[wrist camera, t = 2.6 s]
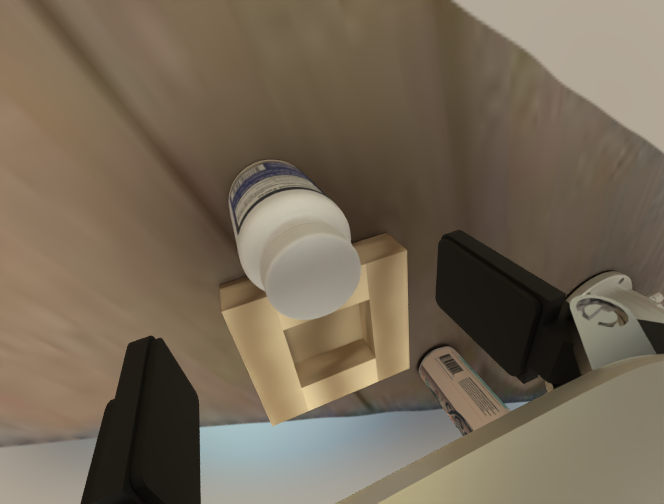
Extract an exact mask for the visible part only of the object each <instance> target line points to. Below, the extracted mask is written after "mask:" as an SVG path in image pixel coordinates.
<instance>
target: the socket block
mask: <svg viewBox="0 0 664 504" xmlns="http://www.w3.org/2000/svg"><path fill="white" fill-rule="evenodd" d="M352 246H353V247H354V248H355V250H356V251H357V253H358V256H359V258H360V263H361V276H360V280H359V283H358V286H357V288H356V290H355V291H354V293H353V295H352V296H351V297H350V298H349V300H348V301H347V302H346V303H345V304H344V305H342V306H341V307H340V308H339V309H337V310H336V311H334V312H332V313H330V314H328V315H326V316H323V317H320V318H316V319H310V320H298V319H292V318H289V317H287V316H284V315H283V314H281V313H279V312H278V311H277V310H276V309H275V308H274V307H273V306H272V305H271V303H270V302H269V300H268V298H267V295H266V292H265V291H263V290H262V289H260V288H259V287H257V286H256V285H255V284H254V283H253V282H252V281H251V280H250V279H249V278H248V277H244V278H241V279H237V280H234V281H231V282H228V283H225V284H222V285H219V287H220V300H221V312H222V314H223V317H224V319H225V321H226V323H227V326H228V328H229V330H230V332H231V334H232V337H233V339H234V341H235V343H236V346H237V348H238V350H239V352H240V355H241V357H242V359H243V361H244V364H245V366H246V368H247V370H248V373H249V375H250V377H251V379H252V382H253V384H254V386H255V388H256V390H257V393H258V395H259V397H260V399H261V402H262V404H263V406H264V408H265V411H266V413H267V415H268V417H269V420H270V422H271V424H272V426H274V425H277V424H279V423H281V422H284V421H286V420H288V419H291V418H293V417H295V416H298V415H300V414H303V413H305V412H307V411H310V410H312V409H314V408H317V407H319V406H321V405H324V404H326V403H329V402H331V401H333V400H336V399H338V398H340V397H343V396H345V395H347V394H350V393H352V392H354V391H357V390H359V389H362V388H364V387H366V386H369V385H371V384H373V383H376V382H378V381H380V380H383V379H385V378H388V377H390V376H392V375H395V374H397V373H399V372H402V371H404V370H406V369H409V328H408V278H407V250H406V249H405V248H404V247H403V246H402V245H400V244H399V243H398V242H397V241H396V240H395V239H393V238H392V237H391V236H390V235H389V234H388V233H384V234H381V235H378V236H374V237H371V238H368V239H365V240H362V241H358V242H355V243H352Z"/></svg>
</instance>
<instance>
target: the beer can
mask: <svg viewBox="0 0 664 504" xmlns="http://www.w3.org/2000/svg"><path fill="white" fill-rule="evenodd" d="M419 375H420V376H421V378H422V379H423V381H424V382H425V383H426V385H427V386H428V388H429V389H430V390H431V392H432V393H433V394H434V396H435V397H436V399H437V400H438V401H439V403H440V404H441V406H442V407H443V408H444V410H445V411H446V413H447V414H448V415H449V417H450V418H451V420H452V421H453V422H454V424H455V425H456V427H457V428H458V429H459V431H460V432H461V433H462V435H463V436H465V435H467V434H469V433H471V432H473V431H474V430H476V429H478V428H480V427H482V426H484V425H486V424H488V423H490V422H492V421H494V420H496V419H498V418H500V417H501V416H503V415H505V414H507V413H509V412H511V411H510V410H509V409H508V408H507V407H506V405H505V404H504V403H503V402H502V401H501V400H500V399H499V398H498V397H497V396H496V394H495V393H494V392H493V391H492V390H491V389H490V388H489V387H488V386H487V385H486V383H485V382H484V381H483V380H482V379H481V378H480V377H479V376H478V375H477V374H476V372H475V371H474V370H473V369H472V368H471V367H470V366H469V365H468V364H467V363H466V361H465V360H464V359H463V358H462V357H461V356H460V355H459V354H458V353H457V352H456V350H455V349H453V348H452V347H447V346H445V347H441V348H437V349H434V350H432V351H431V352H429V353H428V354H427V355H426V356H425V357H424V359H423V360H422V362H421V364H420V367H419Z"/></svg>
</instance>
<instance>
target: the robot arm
mask: <svg viewBox="0 0 664 504" xmlns="http://www.w3.org/2000/svg"><path fill="white" fill-rule="evenodd" d="M565 296H566V294H565V293H563V292H562V291H560V290H558V289H557V288H555V287H553V286H552V285H550V284H548V283H547V282H545V281H543V280H542V279H540V278H538V277H537V276H535V275H534V274H532V273H530V272H529V271H527V270H525V269H524V268H522V267H520V266H519V265H517V264H515V263H514V262H512V261H510V260H509V259H507V258H506V257H504V256H502V255H501V254H499V253H497V252H496V251H494V250H492V249H491V248H489V247H487V246H486V245H484V244H482V243H481V242H479V241H478V240H476V239H474V238H473V237H471V236H469V235H468V234H466V233H464V232H463V231H461V230H456V231H454V232H451V233H448V234H445V235H443V236H442V238H441V240H440V241H439V244H438V261H437V280H436V301H437V304H438V305H439V307H440V308H441V309H442V310H443V311H444V312H445V313H447V314H448V315H449V316H450V317H451V318H452V319H453V320H454V321H455V322H456V323H457V324H458V325H459V326H460V327H461V328H462V329H463V330H464V331H465V332H466V333H467V334H468V335H469V336H470V337H471V338H472V339H473V340H474V341H475V342H476V343H477V344H478V345H479V346H480V347H482V348H483V349H484V350H485V351H486V352H487V353H488V354H489V355H490V356H491V357H492V358H493V359H494V360H495V361H496V362H497V363H498V364H499V365H500V366H501V367H502V368H503V369H504V370H505V371H506V372H507V373H508V374H510V375H512V376H516V377H517V378H518V379H519V380H520V381H521V382H522V383H523V384H525V383H527V382H529V381H531V380H533V379H535V378H537V377H538V374H539V375H540V376H541V377H542V378H543V379H544V380H545V384H546V389H547V393H546V394H544V395H542V396H540V397H538V398H536V399H534V400H532V401H530V402H528V403H527V404H525V405H523V406H521V407H519V408H517V409H515V410H513V411H511V412H509V413H507V414H505V415H503V416H501V417H500V418H498V419H496V420H494V421H492V422H490V423H488V424H486V425H484V426H482V427H480V428H478V429H476V430H474V431H473V432H471V433H469V434H467V435H465V436H463V437H461V438H459V439H457V440H455V441H453V442H451V443H450V444H448V445H446V446H444V447H442V448H440V449H438V450H436V451H434V452H432V453H430V454H429V455H427V456H425V457H423V458H421V459H419V460H417V461H415V462H413V463H411V464H410V465H408V466H406V467H404V468H402V469H400V470H398V471H396V472H395V473H392V474H391V475H389V476H387V477H385V478H383V479H381V480H379V481H377V482H375V483H373V484H372V485H370V486H368V487H366V488H364V489H362V490H360V491H358V492H356V493H355V494H353V495H351V496H349V497H347V498H345V499H343V500H341V501H340V502H338V503H336V504H664V307H663V305H661V304H660V303H659V302H661V301H662V300H663V298H664V297H663V296H662V294H660V293H659V292H651V293H649V294H647V295H645V296H644V295H642V294H640V293H638V292H636V291H634V290H632V282H631V280H630V278H629V277H628V276H626V275H624V274H622V273H620V272H617V271H610V272H606V273H602V274H600V275H597V276H595V277H594V278H592V279H590V280H588V281H587V282H586V283H584V284H583V285H581V286H580V287H579V288H578V289H577V290H575V291H574V292H573V293H572V294H571V295H570V296H569V297H568V298H567V299H566V300H564V299H565ZM199 434H200V430H199V400H198V396H197V393H196V391H195V390H194V388H193V387H192V385H191V383H190V382H189V380H188V379H187V377H186V375H185V374H184V372H183V371H182V369H181V367H180V366H179V364H178V363H177V361H176V360H175V358H174V356H173V355H172V353H171V352H170V350H169V348H168V347H167V345H166V344H165V342H164V341H163V339H162V338H158V339H155V338H154V337H153V336H148V337H145V338H142V339H139V340H136V341H134V342H131V343H129V344H128V346H127V350H126V354H125V358H124V362H123V366H122V371H121V375H120V379H119V383H118V387H117V391H116V396H115V399H113V400H110V402H109V403H108V404H107V406H106V409H105V412H104V416H103V419H102V423H101V427H100V431H99V435H98V439H97V442H96V447H95V450H94V454H93V458H92V462H91V465H90V469H89V473H88V477H87V481H86V485H85V488H84V492H83V496H82V500H81V504H201V496H200V435H199Z"/></svg>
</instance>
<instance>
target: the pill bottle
mask: <svg viewBox="0 0 664 504" xmlns="http://www.w3.org/2000/svg"><path fill="white" fill-rule="evenodd" d="M229 210H230V216H231V220H232V225H233V230H234V235H235V239H236V244H237V250H238V255H239V259H240V262H241V265H242V268H243V270H244V272H245V273H246V275H247V277H248V278H249V279H250V280H251V281H252V282H253V283H254V284H255V285H256V286H257V287H259V288H260V289H262V290H263V291H265V292H266V295H267V298H268V300H269V302H270V303H271V305H272V306H273V307H274V308H275V309H276V310H277V311H278V312H279V313H281V314H283V315H284V316H287V317H289V318H292V319H298V320H310V319H316V318H320V317H323V316H326V315H328V314H330V313H332V312H334V311H336V310H337V309H339V308H340V307H341V306H342V305H344V304H345V303H346V302H347V301H348V300H349V298H350V297H351V296H352V295H353V293H354V291H355V290H356V288H357V286H358V283H359V280H360V276H361V263H360V258H359V256H358V253H357V251H356V250H355V248H354V247H353V246H352V244H351V234H350V228H349V224H348V222H347V219H346V217H345V216H344V214H343V212H342V211H341V210H340V208H339V207H338V206H337V205H336V204H335V203H334V202H333V201H332V200H331V199H330V198H329V197H328V196H327V195H326V194H325V193H324V192H323V191H321V190H320V189H319V188H318V187H317V186H316V185H315V184H314V183H313V182H312V181H311V180H310V179H309V178H308V177H307V176H306V175H305V174H304V173H303V172H302V171H301V170H299V169H298V168H297V167H295V166H293V165H292V164H290V163H287V162H284V161H280V160H263V161H259V162H256V163H254V164H251V165H250V166H248V167H246V168H245V169H244V170H243V171H242V172H240V174H239V175H238V176H237V177H236V178H235V180H234V182H233V184H232V186H231V189H230V193H229Z"/></svg>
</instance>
